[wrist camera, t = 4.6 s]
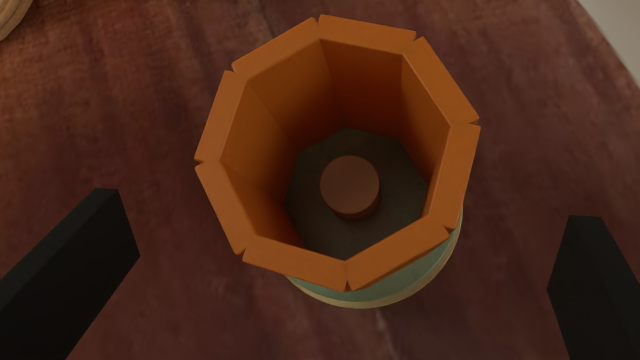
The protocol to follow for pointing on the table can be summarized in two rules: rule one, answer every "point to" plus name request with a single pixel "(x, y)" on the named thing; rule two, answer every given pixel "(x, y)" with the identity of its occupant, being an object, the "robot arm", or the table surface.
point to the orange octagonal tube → (322, 121)
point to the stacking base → (360, 211)
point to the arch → (11, 14)
